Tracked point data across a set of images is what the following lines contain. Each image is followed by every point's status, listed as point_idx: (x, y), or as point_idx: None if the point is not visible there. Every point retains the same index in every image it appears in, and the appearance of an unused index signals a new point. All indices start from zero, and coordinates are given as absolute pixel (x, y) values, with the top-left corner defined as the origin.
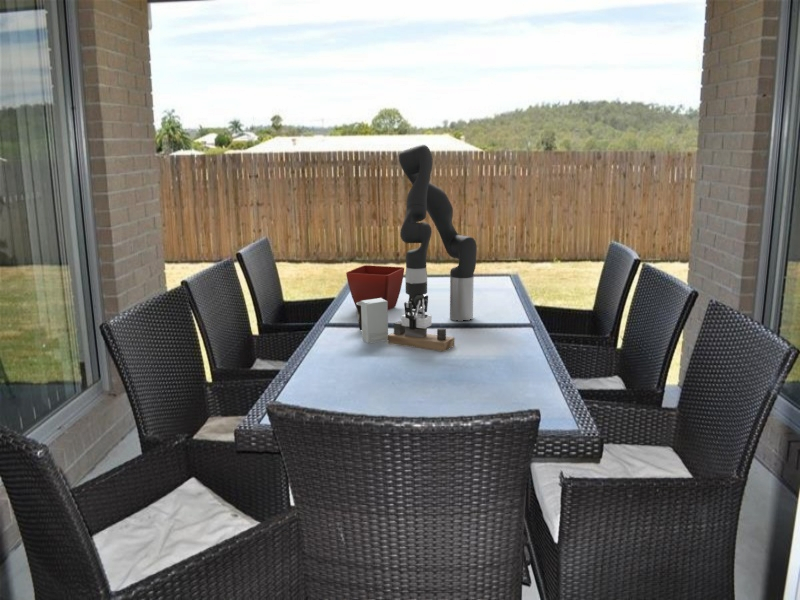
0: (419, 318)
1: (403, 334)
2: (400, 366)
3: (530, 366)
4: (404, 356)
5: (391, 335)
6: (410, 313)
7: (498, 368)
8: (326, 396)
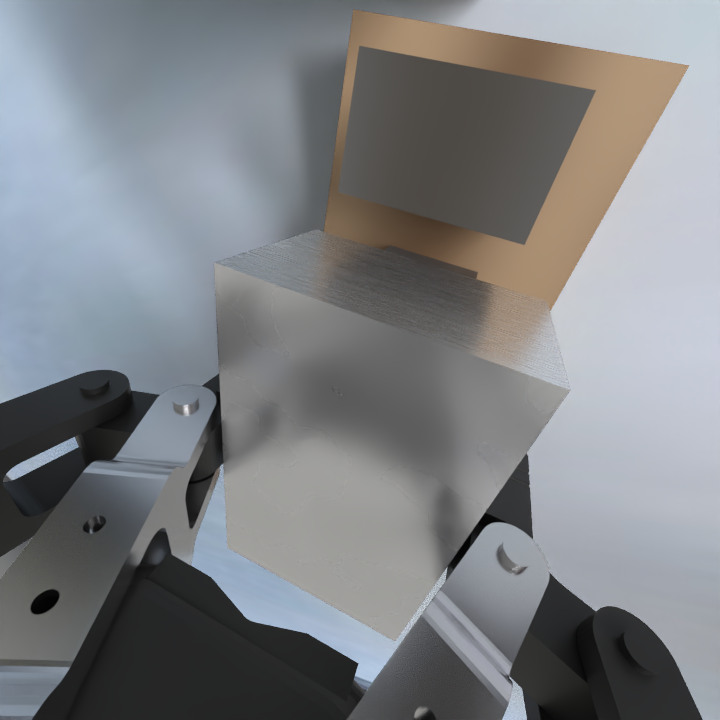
0: (227, 508)
1: (421, 218)
2: (59, 297)
3: (266, 621)
4: (164, 288)
5: (349, 75)
6: (17, 483)
7: (218, 563)
8: None
